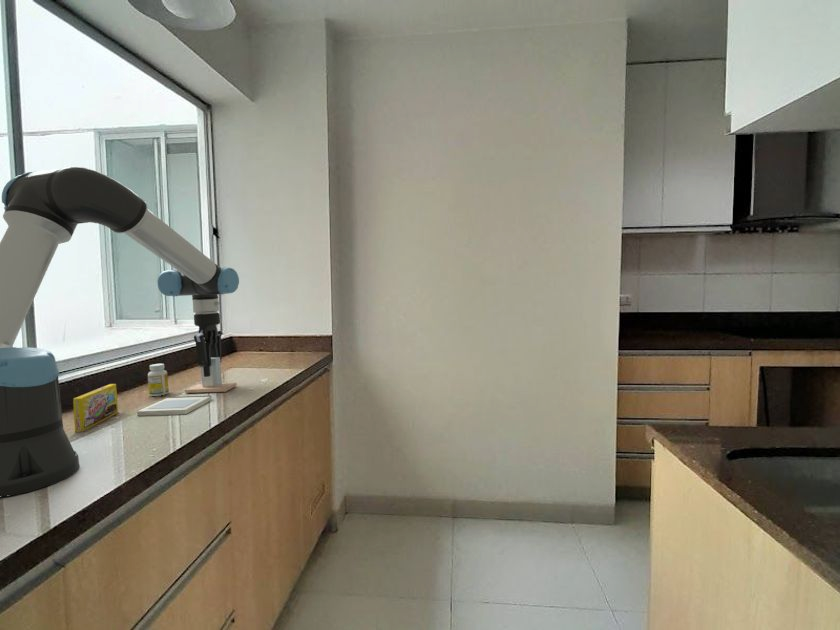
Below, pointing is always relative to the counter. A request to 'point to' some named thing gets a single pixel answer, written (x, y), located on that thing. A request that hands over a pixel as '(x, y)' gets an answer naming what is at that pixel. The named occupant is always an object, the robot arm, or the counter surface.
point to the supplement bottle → (158, 380)
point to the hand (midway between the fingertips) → (212, 384)
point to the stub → (217, 380)
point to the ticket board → (175, 405)
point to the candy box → (95, 407)
